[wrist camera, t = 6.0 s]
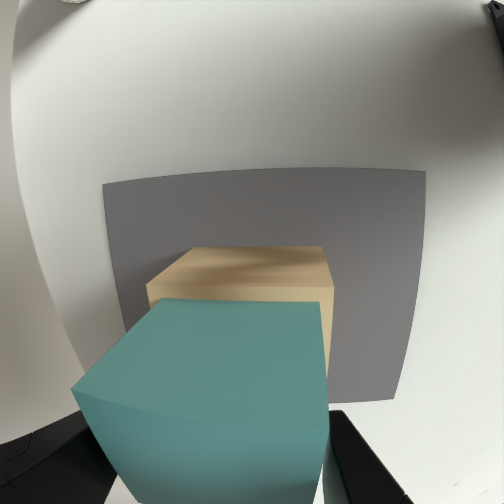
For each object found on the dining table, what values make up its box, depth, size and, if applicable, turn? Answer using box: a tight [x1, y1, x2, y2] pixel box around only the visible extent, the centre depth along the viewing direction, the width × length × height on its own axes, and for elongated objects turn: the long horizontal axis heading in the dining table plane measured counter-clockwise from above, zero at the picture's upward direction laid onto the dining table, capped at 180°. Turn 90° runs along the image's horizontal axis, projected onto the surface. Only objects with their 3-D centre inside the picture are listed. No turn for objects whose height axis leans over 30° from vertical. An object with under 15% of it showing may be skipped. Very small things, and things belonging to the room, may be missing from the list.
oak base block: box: [146, 246, 334, 378], centre depth 12 cm, size 6×6×5 cm
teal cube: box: [71, 298, 330, 504], centre depth 7 cm, size 5×5×5 cm
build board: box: [103, 168, 425, 403], centre depth 15 cm, size 16×13×1 cm
